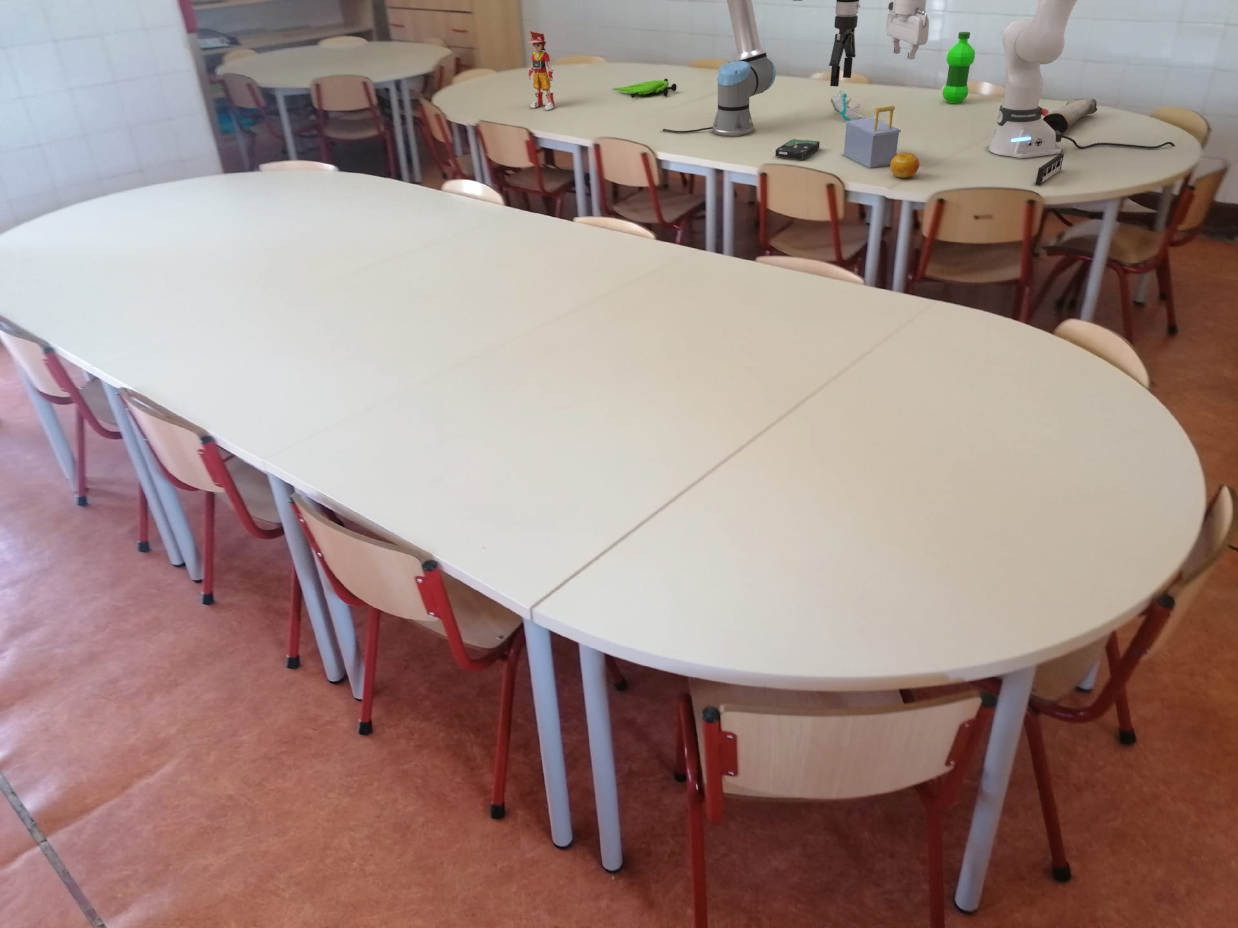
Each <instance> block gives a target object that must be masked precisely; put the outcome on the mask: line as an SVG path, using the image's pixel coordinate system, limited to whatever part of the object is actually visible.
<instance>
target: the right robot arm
mask: <svg viewBox="0 0 1238 928" xmlns="http://www.w3.org/2000/svg"><path fill="white" fill-rule="evenodd" d="M1077 2H1078V0H1037V7H1036V11H1035V14H1034V17H1033V18H1032V19H1029V18H1024V19H1017V20H1014V21H1012V22H1011V23H1010V24H1008V26H1006V28H1005V29H1004V31H1003V33H1002V38H1001V42H1002V46H1003V49H1004V55H1005V83H1004V90H1003V96H1002V102H1001V104H1000V105H999V110H998V113H997V122H996V123H997V124H996V128H995V132H994V135H993V137H992V140H991V143H990V145H989V147H988V151H989V152H991V153H993V154H995V155H1000V156H1004V157H1013V158H1016V159H1028V158H1035V157H1043V156H1051V155H1059V154H1062V147H1061V145H1059V144H1058V143H1061V142H1062V139H1064V140H1068V141H1070V142H1072V143H1073V145H1074V146H1075V147H1076V148H1077V149H1080V150H1083V149H1088V148H1092V147H1095V146H1113V147H1114V146H1115V147H1125V148H1126V147H1127V148H1136V149H1146V150H1147V149H1148V150H1149V149H1150V150H1151V149H1152V150H1153V149H1154V150H1155V149H1159V148H1163V147H1164V146H1167V145H1170V146H1171V147H1176V145H1175V143H1174V142H1172V141H1167V142H1164V143H1162V144H1159V145H1148V146H1147V145H1138V144H1128V143H1118V142H1117V143H1115V142H1095V143H1091V144H1088V145H1085V146H1082V145H1079V144H1078V143H1077V141H1076V140H1075V139H1074V138H1072V137H1070V136H1066V135H1063V134H1062V133H1061V132H1059V131H1058V130H1053V129H1052V128H1051V127H1050V126H1049V125H1048V124H1047V123H1046V122H1045V121H1044V120H1043V117H1045V116H1047V115H1048V114H1050V111H1049V109H1047V108H1043V107H1041V106H1039V103H1040V98H1041V94H1042V88H1043V85H1044V79H1043V76H1042V72H1041V65H1049V64H1051V63H1053V62H1055V61H1056V60H1058V58H1059V57H1060V56H1061V55H1062V53H1063V51H1064V48H1065V31H1066V28H1067V25H1068V21H1069V19H1070V16H1071V13H1072V11H1073V9H1074V7H1075V5H1076V3H1077ZM926 5H927V0H891V1H889V2H887V9H886V10H888V11H887V15H886V22H885V33H886V36H888V37H892V38H891V43H892V47H893V48H892V53H893V54H895V55H898V54H900V53H901V49H902V47H901V46H900V41H903V42H906V43H908V44H910V45H909V46H910V50H909V52H907V59H908V60H915V58H916V54H917V51H918V49H919V47H920V46H923V45H924V46H925V45H926V44H927V42H928V39H929V31H930V29H929V28H930V20H929V17H928V14H927V11H926ZM1042 116H1043V117H1042Z"/></svg>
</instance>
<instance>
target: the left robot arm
mask: <svg viewBox="0 0 1238 928" xmlns="http://www.w3.org/2000/svg"><path fill="white" fill-rule="evenodd" d="M792 1H793V2H801V1H803V0H792ZM835 2H836V3H835V13H834V14H835V16H834V26H833V27H834V28H835V29H837V30H838V33H835V35H834V42H833V46H832V51H831V55H830V60H829V63H828V67H831V72H830V84H829V86H830V87H839V85H840V71H841V66H840V63H841V61H842V57H843V54H845V57H844V58H843V59H844V61H843V71H842V78H843V79H852V71H853V70H852V69H853V60H854V59H853V58H856V56H857V55H856V40H855V39H856V37H855V32H856V28H857V27H858V19H859V16H858V14H859V8H861V4H860V0H836V1H835ZM726 3H727V7H728V12H729V17H730V23H731V27H732V32H733V36H734V41H735V47H736V51H737V57H736V58H735V60H734V61H732V62H726V63H724V64H722V65H721V66H720V67H719V68H718V70H717V71H718V73H717V74H718V75H717V111H716V114H715V118H714V120H713V124H712V126H708V127H703V128H698V129H697V128H696V129H689V130H676V129H675V130H674V129H667V128H662V131H663V132H668V133H674V134H675V133H677V134H685V133H686V134H687V133H696V132H701V131H707V130H712V133H713V134H715V135H717V136H721V137H741V136H746V135H750V134H752V133H754V127H755V126H754V122H753V118H752V115H751V111H750V98H751V97H753V96H756V95H760V94H763V93H764V92H766V91H768V90H769V89H770V88H771V87H772V86H773V84H774V82H775V80H776V74H777V73H776V70H777V69H776V66H775V64H774V62H773V61H772V60H771V59H769V58H768V56H767V51H766V50H765V49H763V48H762V46H761V41H760V36H759V31H758V26H757V21H756V15H755V10H754V6H753V0H726Z"/></svg>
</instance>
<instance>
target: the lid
mask: <svg viewBox="0 0 1238 928" xmlns="http://www.w3.org/2000/svg"><path fill="white" fill-rule="evenodd" d="M895 108H896V106H895V105H889V106H882V107H876V108H875V109H874V113H875V114H874V115H875V116H874V117H871V116H870V117H865V118H864V117H863V118H861V119H858V118H857V119H851V120H848V121H846V124H849V125H851V126H853V127H855V128H858V129H860V130H862V131H864V132H867V133H869V134H871V135H873V136H880V135H886V134H893V133H899V134H900V133H902V129H900V128H898V127H896V126H893V118H894V111H895ZM885 112H889V119H888V123H886V122H883V121H881V120H879V115H880V113H885Z"/></svg>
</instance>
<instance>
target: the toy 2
mask: <svg viewBox="0 0 1238 928" xmlns="http://www.w3.org/2000/svg"><path fill="white" fill-rule="evenodd" d="M669 85H670V83H669V79H668V78H664V79H663V80H649V81H644V82H640V83H634V84H629V85H627V86H621V87H613V88H612V89H613V90H616V91H619V92H623V93H627V94H628V93H629V94H631V95H630V96H631V98H632V99H634V98H636V96H637V95H650V94H652V93H654V94H658V93H662V95H663V96H665V97H667V96H668V95H669V90H671V91H672V92H676V91H677V84H676V83H672V84H671V86H669Z"/></svg>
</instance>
